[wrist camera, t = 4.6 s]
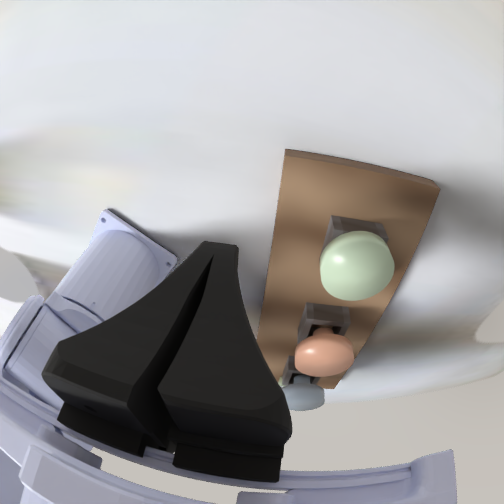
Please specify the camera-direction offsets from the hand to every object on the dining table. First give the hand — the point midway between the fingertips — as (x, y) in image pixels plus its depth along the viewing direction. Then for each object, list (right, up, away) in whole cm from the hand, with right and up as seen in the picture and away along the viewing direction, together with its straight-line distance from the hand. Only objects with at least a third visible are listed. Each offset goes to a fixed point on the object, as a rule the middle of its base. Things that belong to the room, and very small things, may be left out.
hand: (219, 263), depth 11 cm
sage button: (+8, +1, +8) cm, 12 cm away
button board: (+8, -5, +15) cm, 17 cm away
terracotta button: (+7, -7, +12) cm, 16 cm away
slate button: (+7, -13, +18) cm, 23 cm away
